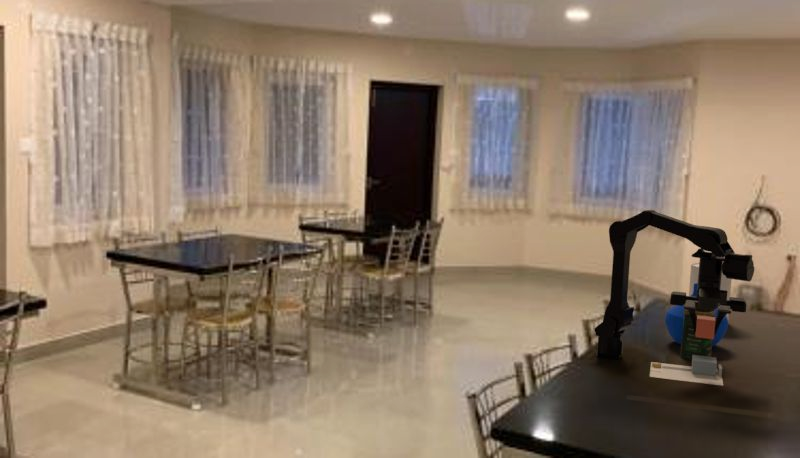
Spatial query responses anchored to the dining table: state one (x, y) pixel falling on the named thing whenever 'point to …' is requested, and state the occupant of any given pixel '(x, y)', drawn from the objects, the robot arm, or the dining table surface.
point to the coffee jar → (689, 339)
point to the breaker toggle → (704, 365)
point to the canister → (694, 279)
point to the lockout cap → (705, 327)
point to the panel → (684, 373)
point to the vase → (676, 319)
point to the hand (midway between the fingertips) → (704, 333)
